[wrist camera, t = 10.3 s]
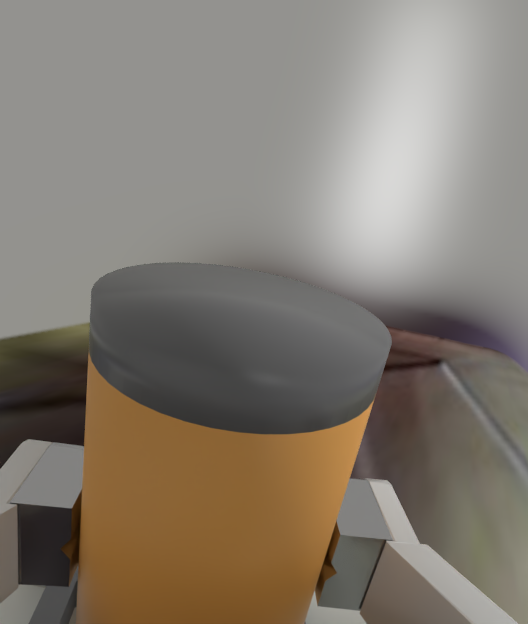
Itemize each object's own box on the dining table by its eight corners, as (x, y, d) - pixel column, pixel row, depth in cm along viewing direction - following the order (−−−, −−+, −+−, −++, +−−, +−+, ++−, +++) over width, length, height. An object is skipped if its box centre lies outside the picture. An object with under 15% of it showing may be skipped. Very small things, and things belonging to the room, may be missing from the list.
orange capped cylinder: (28, 849, 7) (23, 336, 4) (107, 596, 11) (136, 250, 8) (277, 852, 8) (449, 396, 4) (264, 608, 12) (348, 286, 9)
